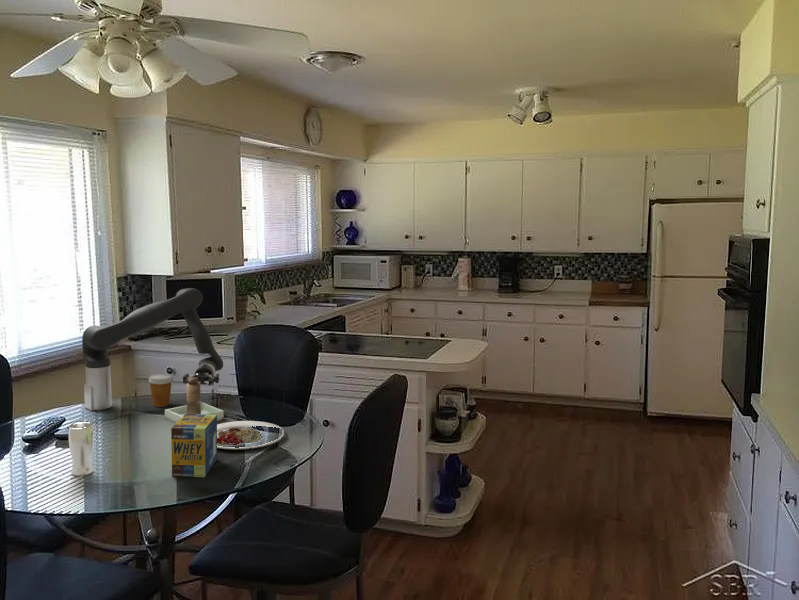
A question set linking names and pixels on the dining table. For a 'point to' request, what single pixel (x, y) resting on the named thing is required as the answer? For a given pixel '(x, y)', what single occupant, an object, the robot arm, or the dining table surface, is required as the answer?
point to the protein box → (194, 445)
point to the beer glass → (81, 447)
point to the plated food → (242, 433)
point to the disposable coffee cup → (160, 389)
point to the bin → (179, 412)
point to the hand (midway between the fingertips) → (198, 383)
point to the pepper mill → (193, 396)
